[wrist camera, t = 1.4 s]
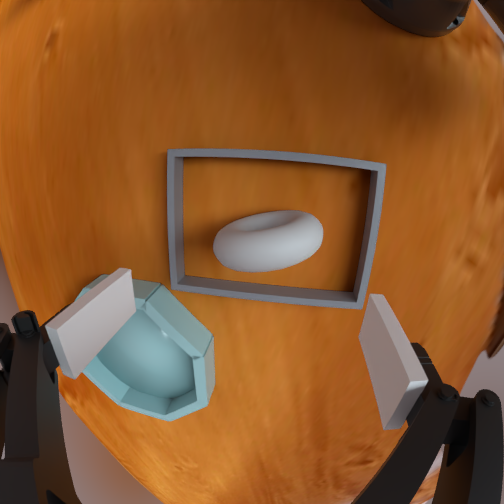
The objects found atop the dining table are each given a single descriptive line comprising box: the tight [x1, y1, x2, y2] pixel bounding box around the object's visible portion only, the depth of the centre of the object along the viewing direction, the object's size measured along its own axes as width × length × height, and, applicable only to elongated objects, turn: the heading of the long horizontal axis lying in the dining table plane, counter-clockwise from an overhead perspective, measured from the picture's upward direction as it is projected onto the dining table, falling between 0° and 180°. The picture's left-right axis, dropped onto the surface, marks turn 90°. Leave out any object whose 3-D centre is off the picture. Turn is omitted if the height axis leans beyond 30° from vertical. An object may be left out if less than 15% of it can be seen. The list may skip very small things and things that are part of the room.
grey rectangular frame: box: [167, 149, 386, 309], centre depth 29 cm, size 22×16×2 cm
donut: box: [213, 210, 323, 272], centre depth 26 cm, size 10×4×10 cm, turn 101°
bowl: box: [74, 274, 215, 421], centre depth 37 cm, size 23×23×4 cm
